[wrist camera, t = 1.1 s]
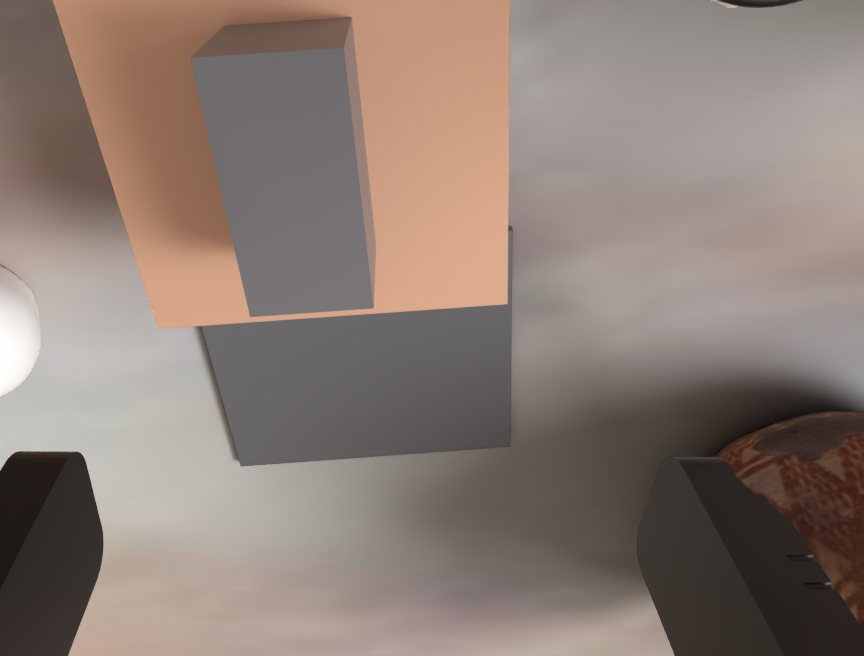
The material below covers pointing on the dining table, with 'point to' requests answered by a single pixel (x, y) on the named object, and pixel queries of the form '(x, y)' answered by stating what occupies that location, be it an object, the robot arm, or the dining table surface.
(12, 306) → the plain white apple
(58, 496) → the robot arm
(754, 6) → the jar
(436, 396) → the mat
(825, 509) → the jug
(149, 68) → the lid
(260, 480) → the dining table surface
